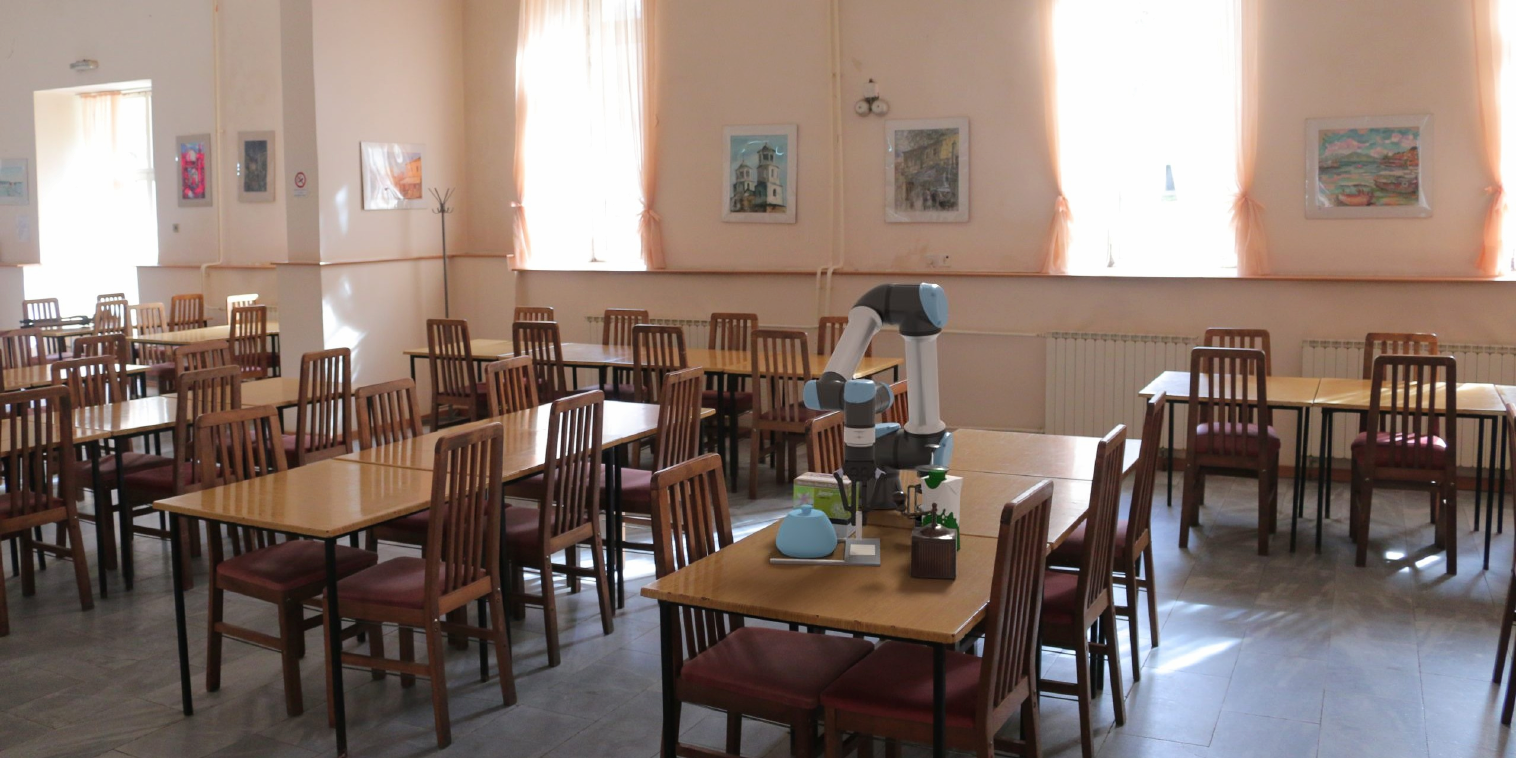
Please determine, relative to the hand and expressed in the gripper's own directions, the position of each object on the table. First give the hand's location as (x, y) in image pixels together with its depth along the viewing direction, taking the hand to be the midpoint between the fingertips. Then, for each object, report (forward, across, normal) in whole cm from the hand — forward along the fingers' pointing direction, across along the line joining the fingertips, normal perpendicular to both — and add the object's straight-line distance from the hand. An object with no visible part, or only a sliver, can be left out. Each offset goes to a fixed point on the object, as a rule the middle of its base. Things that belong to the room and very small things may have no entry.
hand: (858, 538), depth 284 cm
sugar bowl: (+4, -13, 0) cm, 13 cm away
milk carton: (+4, +20, +5) cm, 21 cm away
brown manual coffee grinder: (+4, +15, -15) cm, 22 cm away
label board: (+3, -7, 0) cm, 8 cm away
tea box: (+4, -9, +19) cm, 21 cm away
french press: (+4, +18, +22) cm, 29 cm away
